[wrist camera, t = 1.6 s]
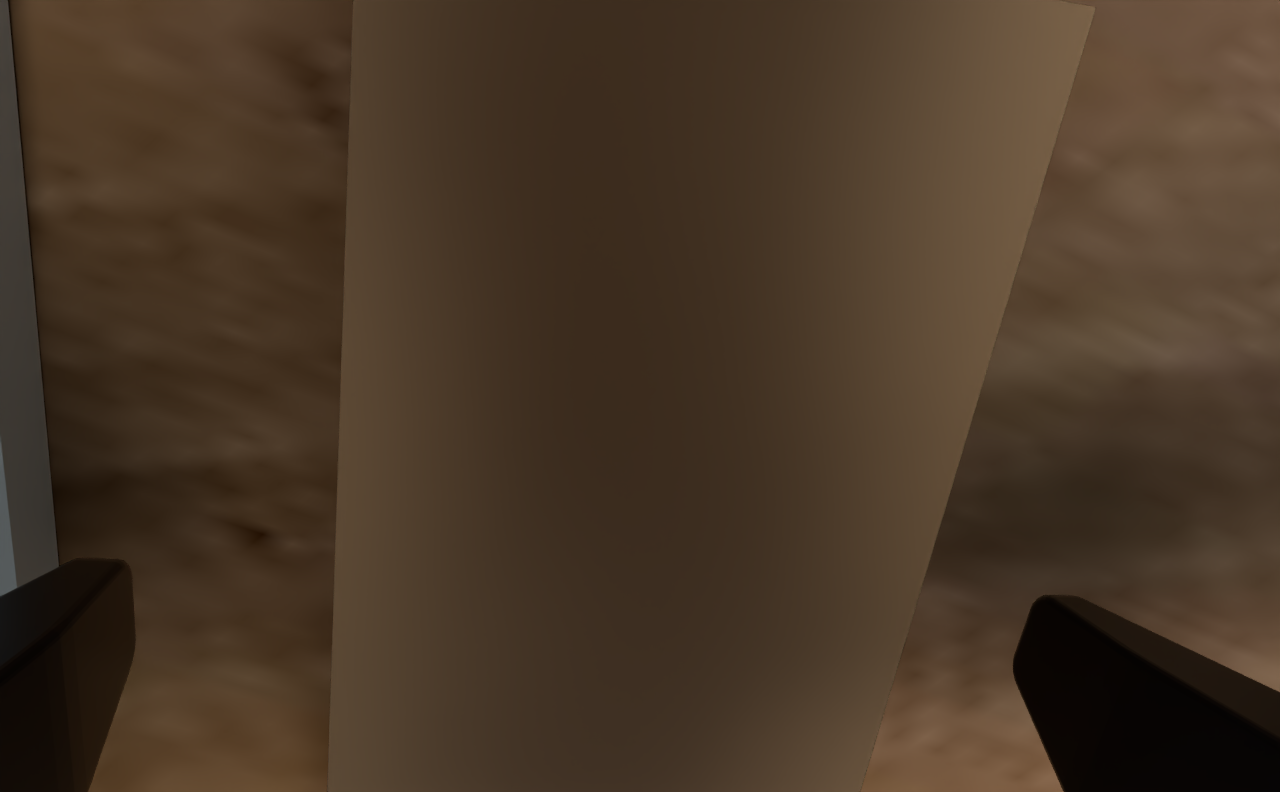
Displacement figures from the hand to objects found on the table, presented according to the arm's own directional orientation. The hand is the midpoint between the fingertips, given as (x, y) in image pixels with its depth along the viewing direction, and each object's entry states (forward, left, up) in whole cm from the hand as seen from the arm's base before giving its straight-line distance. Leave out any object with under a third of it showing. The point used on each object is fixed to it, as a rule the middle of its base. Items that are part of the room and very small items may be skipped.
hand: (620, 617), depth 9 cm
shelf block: (0, 0, -3) cm, 3 cm away
